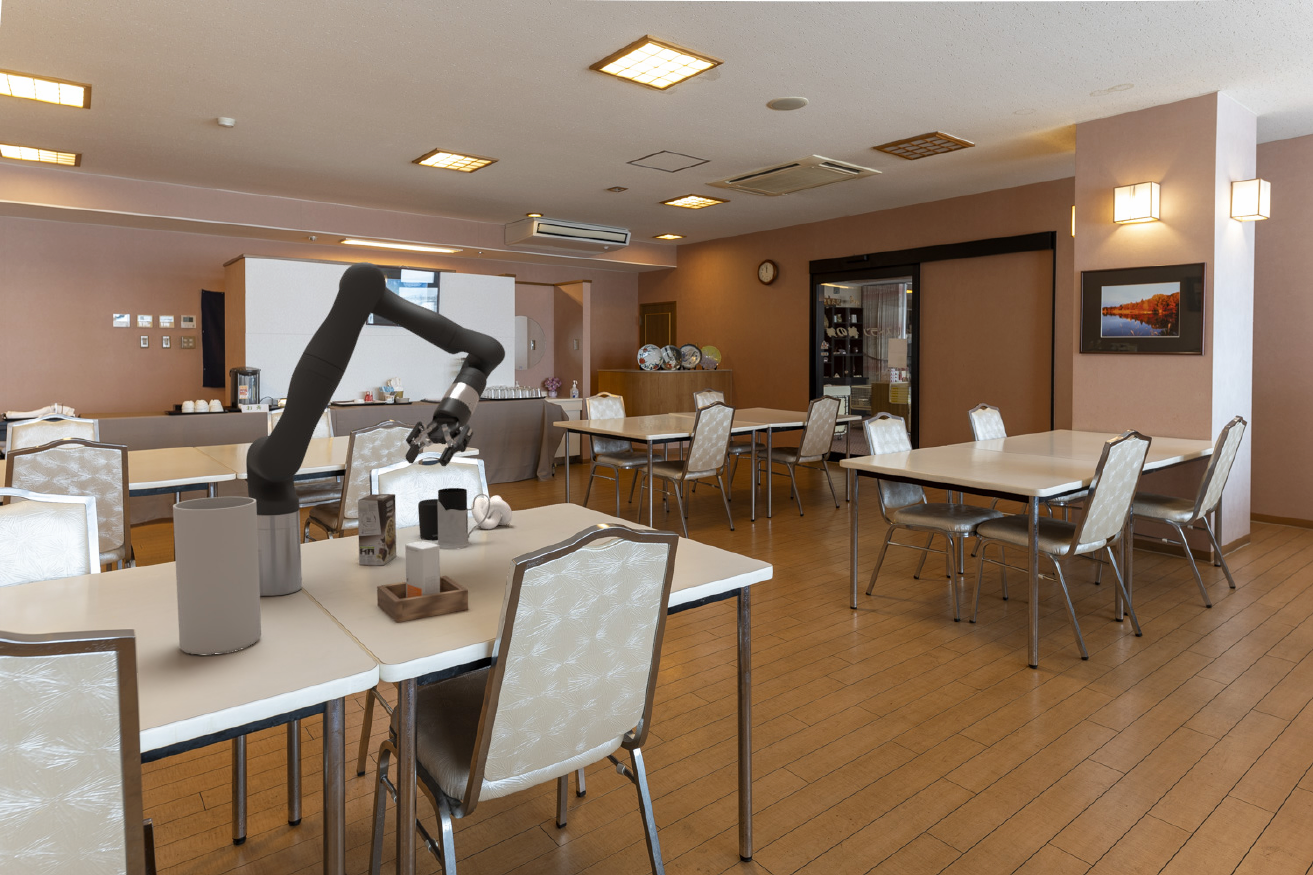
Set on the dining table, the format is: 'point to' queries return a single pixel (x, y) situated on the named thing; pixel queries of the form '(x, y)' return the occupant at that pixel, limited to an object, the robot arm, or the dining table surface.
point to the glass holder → (454, 518)
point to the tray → (421, 600)
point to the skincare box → (422, 569)
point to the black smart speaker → (428, 519)
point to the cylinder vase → (217, 574)
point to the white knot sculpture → (491, 512)
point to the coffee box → (377, 529)
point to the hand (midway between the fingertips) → (425, 462)
